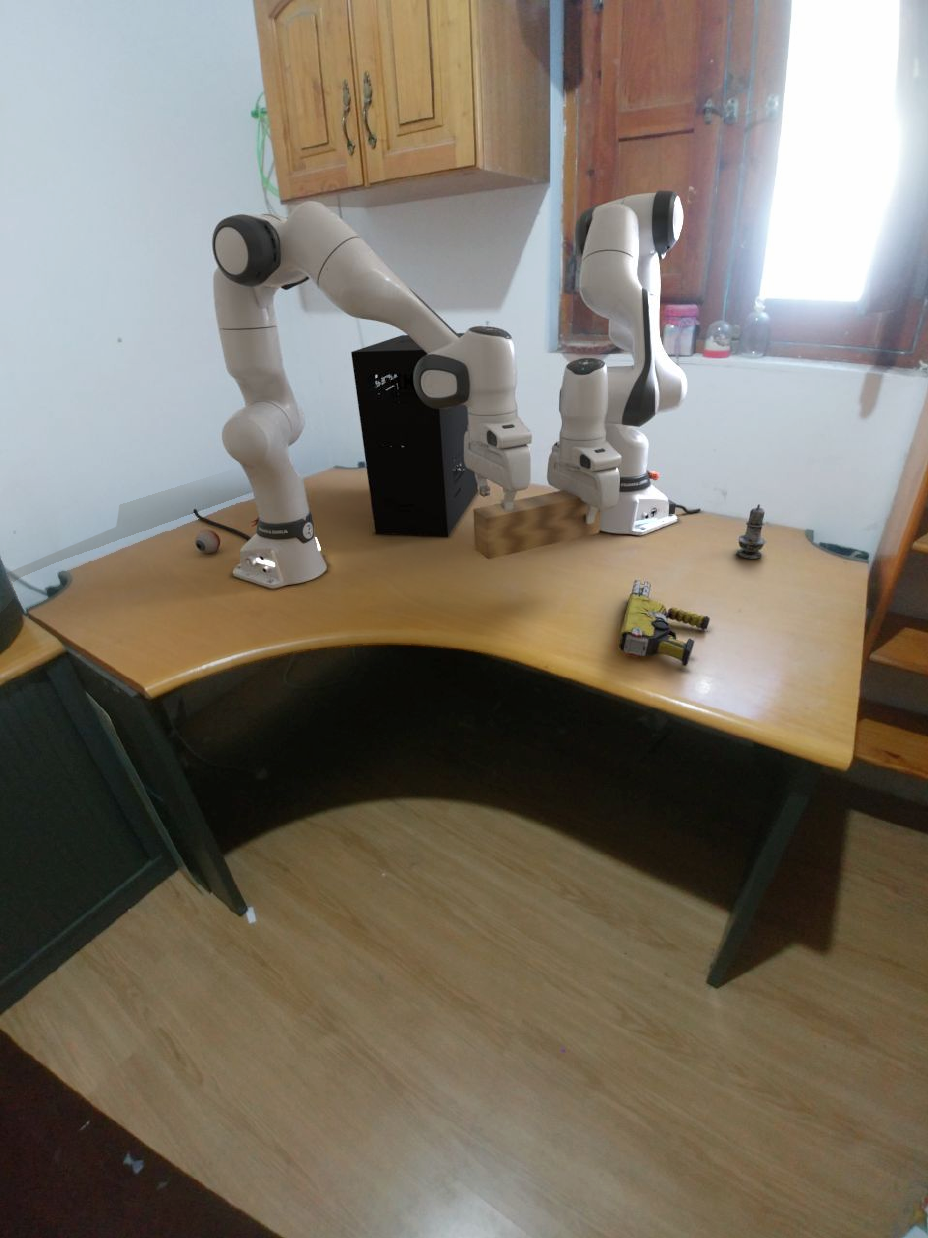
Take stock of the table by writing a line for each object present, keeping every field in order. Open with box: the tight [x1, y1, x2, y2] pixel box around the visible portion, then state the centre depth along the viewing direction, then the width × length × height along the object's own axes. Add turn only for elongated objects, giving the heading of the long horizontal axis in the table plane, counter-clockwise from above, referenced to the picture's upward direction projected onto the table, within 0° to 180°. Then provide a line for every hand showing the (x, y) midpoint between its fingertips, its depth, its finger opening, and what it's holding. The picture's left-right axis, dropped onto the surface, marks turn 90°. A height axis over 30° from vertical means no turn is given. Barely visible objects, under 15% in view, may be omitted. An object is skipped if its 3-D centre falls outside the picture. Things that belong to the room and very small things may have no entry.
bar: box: [472, 490, 600, 561], centre depth 121 cm, size 26×6×9 cm, turn 115°
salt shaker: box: [736, 503, 767, 560], centre depth 136 cm, size 6×6×12 cm
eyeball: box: [194, 529, 221, 554], centre depth 155 cm, size 6×6×6 cm
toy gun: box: [617, 579, 711, 667], centre depth 111 cm, size 5×24×15 cm
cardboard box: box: [350, 332, 479, 538], centre depth 164 cm, size 38×20×45 cm, turn 167°
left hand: (495, 501), depth 114 cm, fingers open, 8 cm apart
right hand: (578, 517), depth 124 cm, fingers closed on bar, 6 cm apart
